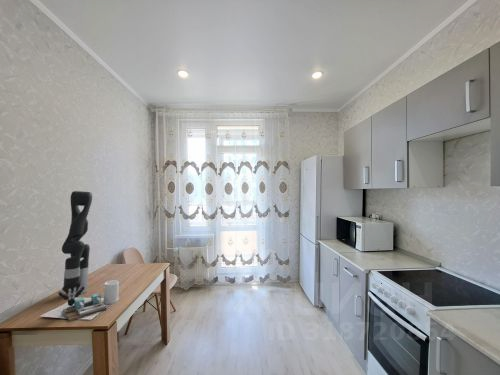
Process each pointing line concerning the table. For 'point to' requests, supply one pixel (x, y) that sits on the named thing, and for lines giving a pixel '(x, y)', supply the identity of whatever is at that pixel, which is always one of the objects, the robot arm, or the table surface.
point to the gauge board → (86, 311)
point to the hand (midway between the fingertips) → (70, 305)
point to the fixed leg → (96, 299)
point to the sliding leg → (79, 303)
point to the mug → (111, 292)
